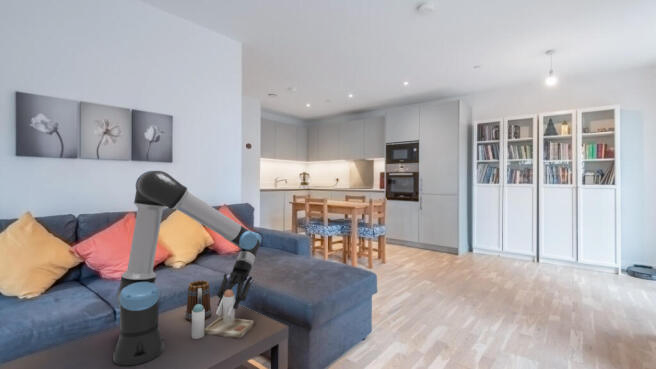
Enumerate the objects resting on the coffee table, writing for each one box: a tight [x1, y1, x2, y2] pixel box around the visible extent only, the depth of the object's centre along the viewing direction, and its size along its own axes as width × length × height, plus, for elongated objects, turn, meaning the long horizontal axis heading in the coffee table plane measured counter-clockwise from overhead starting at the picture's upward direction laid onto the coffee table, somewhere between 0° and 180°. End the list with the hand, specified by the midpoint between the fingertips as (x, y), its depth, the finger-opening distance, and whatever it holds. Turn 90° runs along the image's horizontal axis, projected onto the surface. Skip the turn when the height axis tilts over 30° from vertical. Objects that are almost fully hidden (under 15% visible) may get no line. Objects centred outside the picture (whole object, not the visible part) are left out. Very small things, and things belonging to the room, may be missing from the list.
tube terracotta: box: [222, 289, 236, 322], centre depth 129 cm, size 5×5×12 cm
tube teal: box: [191, 304, 206, 340], centre depth 122 cm, size 5×5×12 cm
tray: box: [204, 316, 256, 340], centre depth 128 cm, size 16×12×2 cm
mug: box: [185, 279, 212, 322], centre depth 137 cm, size 16×11×15 cm
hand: (223, 315), depth 125 cm, fingers closed on tube terracotta, 5 cm apart
